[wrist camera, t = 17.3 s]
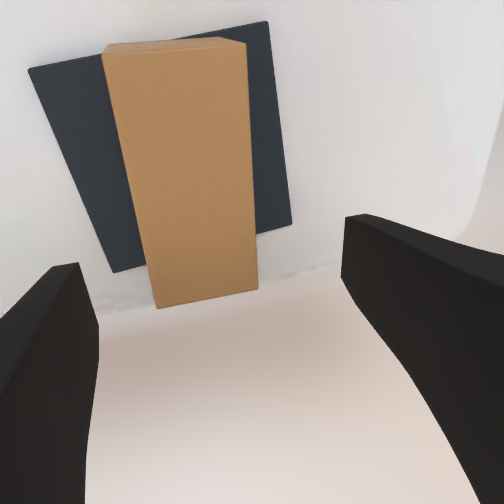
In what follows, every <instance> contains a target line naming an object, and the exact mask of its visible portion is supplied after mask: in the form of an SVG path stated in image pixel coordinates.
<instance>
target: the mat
mask: <svg viewBox="0 0 504 504" xmlns="http://www.w3.org/2000/svg"><path fill="white" fill-rule="evenodd" d="M205 37H222V38H226V39H230V40H234V41H238V42H242V43H245V44H246V50H247V70H248V90H249V110H250V129H251V149H252V169H253V189H254V208H255V228H256V234H259V233H263V232H266V231H270V230H273V229H277V228H281V227H284V226H288V225H292V216H291V208H290V200H289V191H288V183H287V175H286V166H285V158H284V150H283V141H282V133H281V125H280V116H279V108H278V100H277V91H276V83H275V75H274V66H273V58H272V50H271V41H270V33H269V25H268V21H262V22H257V23H252V24H247V25H242V26H237V27H232V28H227V29H222V30H217V31H212V32H207V33H202V34H197V35H192V36H187V37H182V38H177V39H191V38H205ZM177 39H172V40H177ZM101 56H102V54H97V55H92V56H87V57H82V58H77V59H72V60H67V61H62V62H57V63H53V64H48V65H43V66H38V67H33V68H29V69H28V73H29V76H30V78H31V80H32V83H33V85H34V87H35V90H36V92H37V94H38V97H39V99H40V102H41V104H42V106H43V109H44V111H45V113H46V116H47V118H48V120H49V123H50V125H51V128H52V130H53V132H54V135H55V137H56V139H57V142H58V144H59V146H60V149H61V151H62V154H63V156H64V158H65V161H66V163H67V165H68V168H69V170H70V172H71V175H72V177H73V180H74V182H75V184H76V187H77V189H78V191H79V194H80V196H81V198H82V201H83V203H84V206H85V208H86V210H87V213H88V215H89V217H90V220H91V222H92V224H93V227H94V229H95V232H96V234H97V236H98V239H99V241H100V243H101V246H102V248H103V251H104V253H105V255H106V258H107V260H108V262H109V265H110V267H111V269H112V272H113V273H117V272H120V271H124V270H128V269H131V268H135V267H139V266H142V265H146V259H145V255H144V250H143V245H142V241H141V236H140V232H139V227H138V223H137V218H136V213H135V209H134V204H133V200H132V195H131V190H130V186H129V181H128V177H127V172H126V167H125V163H124V158H123V154H122V149H121V144H120V140H119V135H118V131H117V126H116V122H115V117H114V112H113V108H112V103H111V99H110V94H109V89H108V85H107V80H106V76H105V71H104V66H103V62H102V57H101Z"/></svg>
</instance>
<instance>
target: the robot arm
mask: <svg viewBox="0 0 504 504" xmlns="http://www.w3.org/2000/svg"><path fill="white" fill-rule="evenodd" d="M341 278H342V280H343V282H344V284H345V286H346V288H347V290H348V292H349V293H350V295H351V297H352V299H353V300H354V302H355V304H356V305H357V307H358V308H359V309H360V311H361V312H362V313H363V315H364V316H365V317H366V318H367V320H368V321H369V322H370V324H371V325H372V326H373V328H374V329H375V330H376V332H377V333H378V334H379V335H380V337H381V338H382V339H383V340H384V342H385V343H386V344H387V346H388V347H389V348H390V350H391V351H392V352H393V353H394V355H395V356H396V357H397V359H398V360H399V361H400V362H401V364H402V365H403V367H404V368H405V370H406V371H407V372H408V374H409V375H410V377H411V379H412V380H413V382H414V383H415V385H416V387H417V388H418V390H419V391H420V393H421V395H422V396H423V398H424V400H425V401H426V403H427V405H428V406H429V408H430V410H431V412H432V413H433V415H434V417H435V418H436V420H437V422H438V424H439V426H440V427H441V429H442V431H443V432H444V434H445V436H446V438H447V440H448V441H449V443H450V445H451V447H452V449H453V451H454V453H455V455H456V456H457V458H458V460H459V462H460V464H461V466H462V468H463V470H464V472H465V474H466V475H467V477H468V479H469V481H470V483H471V485H472V487H473V489H474V492H475V494H476V496H477V498H478V500H479V502H480V504H504V255H501V254H497V253H492V252H488V251H484V250H480V249H476V248H473V247H469V246H466V245H462V244H459V243H456V242H453V241H449V240H446V239H443V238H440V237H437V236H434V235H431V234H428V233H425V232H422V231H419V230H416V229H413V228H410V227H408V226H405V225H402V224H399V223H396V222H393V221H390V220H387V219H384V218H381V217H377V216H373V215H369V214H361V215H355V216H349V217H345V228H344V241H343V254H342V267H341ZM98 362H99V325H98V322H97V319H96V316H95V312H94V309H93V306H92V303H91V300H90V297H89V294H88V290H87V287H86V284H85V281H84V278H83V275H82V272H81V269H80V265H79V262H77V263H71V264H65V265H59V266H53V267H52V268H50V269H49V270H48V271H47V272H46V273H45V274H44V275H43V276H42V277H41V278H40V279H39V280H38V281H37V282H36V283H35V284H34V285H33V286H32V287H31V288H30V290H29V291H28V292H27V293H26V294H25V295H24V296H23V297H22V298H21V299H20V300H19V301H18V302H17V303H16V304H15V305H14V306H13V307H12V308H11V309H10V310H9V311H8V312H7V313H6V314H5V315H4V316H3V317H2V318H1V319H0V504H85V477H86V476H85V475H86V453H87V442H88V435H89V428H90V421H91V413H92V407H93V399H94V392H95V385H96V378H97V370H98Z"/></svg>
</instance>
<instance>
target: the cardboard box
mask: <svg viewBox="0 0 504 504" xmlns="http://www.w3.org/2000/svg"><path fill="white" fill-rule="evenodd" d="M101 57H102V62H103V66H104V71H105V76H106V80H107V85H108V89H109V94H110V99H111V103H112V108H113V112H114V117H115V122H116V126H117V131H118V135H119V140H120V144H121V149H122V154H123V158H124V163H125V167H126V172H127V177H128V181H129V186H130V190H131V195H132V200H133V204H134V209H135V213H136V218H137V223H138V227H139V232H140V236H141V241H142V245H143V250H144V255H145V259H146V264H147V268H148V273H149V278H150V282H151V287H152V291H153V296H154V301H155V305H156V308H157V309H161V308H166V307H172V306H177V305H181V304H186V303H192V302H197V301H201V300H207V299H212V298H217V297H222V296H227V295H232V294H237V293H242V292H247V291H253V290H257V289H258V267H257V248H256V228H255V208H254V189H253V169H252V149H251V129H250V110H249V90H248V70H247V50H246V44H245V43H242V42H238V41H234V40H230V39H226V38H222V37H205V38H191V39H177V40H163V41H149V42H135V43H121V44H109V45H108V46H107V47H106V49H105V50H104V52H103V53H102V56H101Z"/></svg>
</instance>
